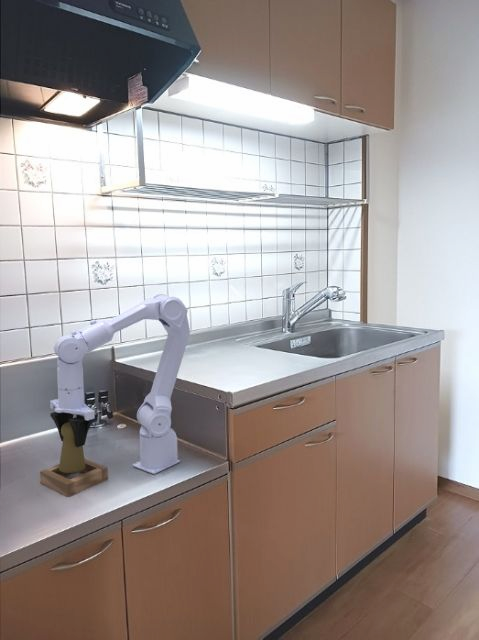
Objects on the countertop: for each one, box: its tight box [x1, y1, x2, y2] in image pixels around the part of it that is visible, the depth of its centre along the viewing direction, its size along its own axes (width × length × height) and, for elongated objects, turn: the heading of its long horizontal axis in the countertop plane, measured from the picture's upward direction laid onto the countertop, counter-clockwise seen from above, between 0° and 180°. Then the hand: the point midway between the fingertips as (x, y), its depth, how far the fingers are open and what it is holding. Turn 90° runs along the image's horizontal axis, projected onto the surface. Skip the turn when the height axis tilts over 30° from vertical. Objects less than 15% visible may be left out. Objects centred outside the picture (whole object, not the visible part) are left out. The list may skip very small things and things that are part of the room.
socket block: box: [39, 457, 109, 498], centre depth 119 cm, size 11×11×3 cm
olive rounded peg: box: [58, 422, 86, 474], centre depth 118 cm, size 6×6×11 cm
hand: (73, 442), depth 118 cm, fingers closed on olive rounded peg, 5 cm apart
